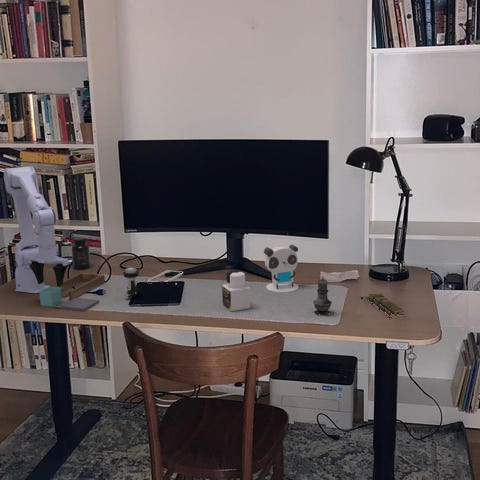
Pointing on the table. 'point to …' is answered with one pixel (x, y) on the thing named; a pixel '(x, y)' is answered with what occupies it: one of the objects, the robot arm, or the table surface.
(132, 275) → the push button
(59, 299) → the block
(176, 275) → the phone case
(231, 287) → the medicine bottle
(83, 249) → the supplement bottle
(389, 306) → the olive brown jagged slab
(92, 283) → the channel
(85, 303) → the pad
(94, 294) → the table surface
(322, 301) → the dark grey chess piece
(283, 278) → the panda figurine
